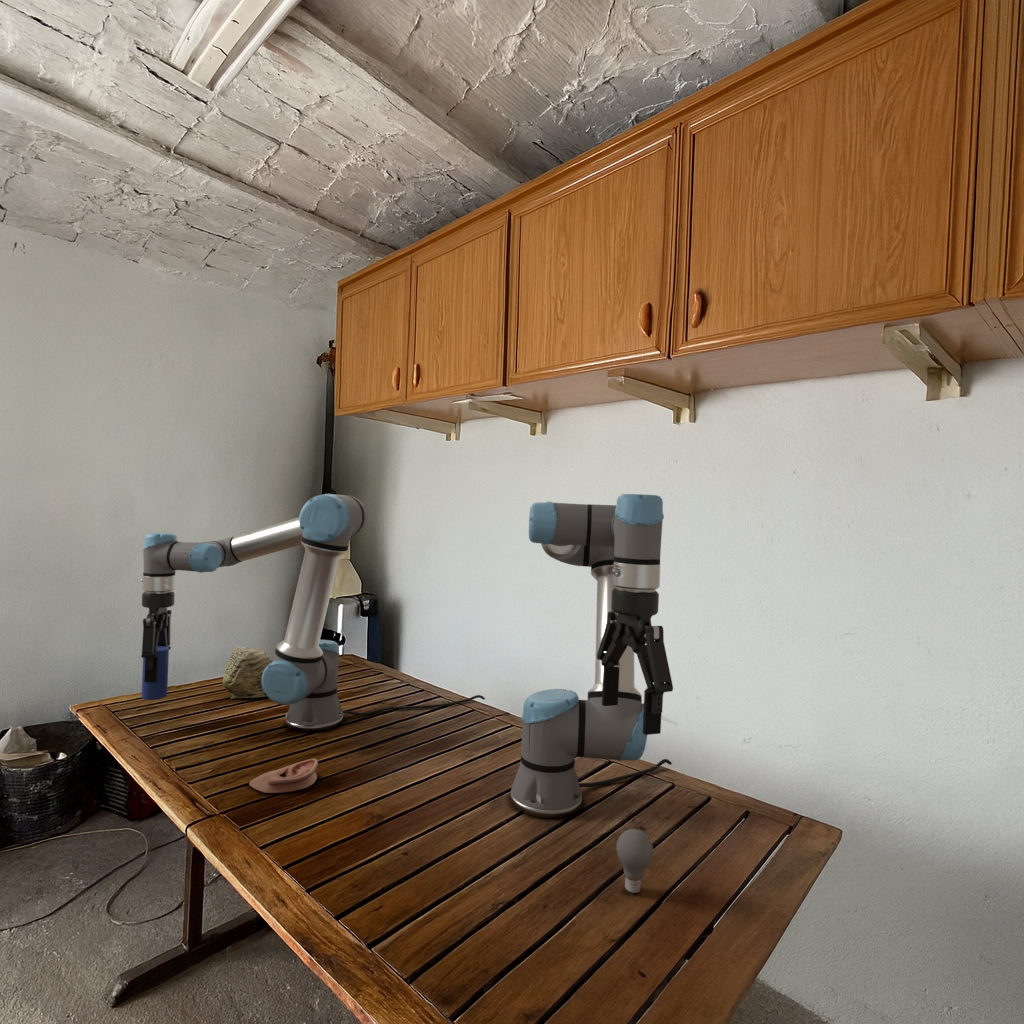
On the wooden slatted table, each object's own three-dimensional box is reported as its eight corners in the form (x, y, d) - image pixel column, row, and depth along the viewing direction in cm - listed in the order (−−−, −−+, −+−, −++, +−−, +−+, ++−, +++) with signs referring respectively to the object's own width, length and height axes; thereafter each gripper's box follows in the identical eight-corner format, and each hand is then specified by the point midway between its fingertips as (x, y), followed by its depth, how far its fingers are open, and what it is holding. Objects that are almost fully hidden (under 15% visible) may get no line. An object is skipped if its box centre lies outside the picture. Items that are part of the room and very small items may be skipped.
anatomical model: (241, 770, 135) (272, 750, 146) (240, 789, 135) (271, 767, 146) (297, 779, 132) (324, 757, 144) (297, 798, 132) (324, 775, 144)
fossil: (218, 695, 195) (220, 647, 195) (278, 685, 208) (279, 640, 207) (228, 703, 189) (230, 653, 188) (289, 692, 201) (290, 645, 201)
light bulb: (610, 879, 108) (613, 822, 108) (644, 879, 109) (647, 822, 109) (619, 902, 102) (622, 840, 102) (655, 901, 103) (658, 840, 103)
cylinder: (166, 692, 172) (168, 645, 172) (168, 698, 167) (169, 650, 167) (141, 694, 169) (142, 647, 169) (141, 701, 164) (143, 652, 164)
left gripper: (156, 585, 176) (153, 668, 177) (128, 596, 158) (124, 689, 158) (185, 586, 178) (182, 668, 178) (160, 597, 159) (157, 688, 159)
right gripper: (581, 578, 114) (576, 696, 114) (656, 601, 90) (649, 749, 90) (618, 578, 116) (613, 693, 116) (701, 601, 92) (694, 745, 93)
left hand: (155, 677), depth 168 cm, fingers closed on cylinder, 6 cm apart
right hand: (629, 718), depth 103 cm, fingers open, 13 cm apart
